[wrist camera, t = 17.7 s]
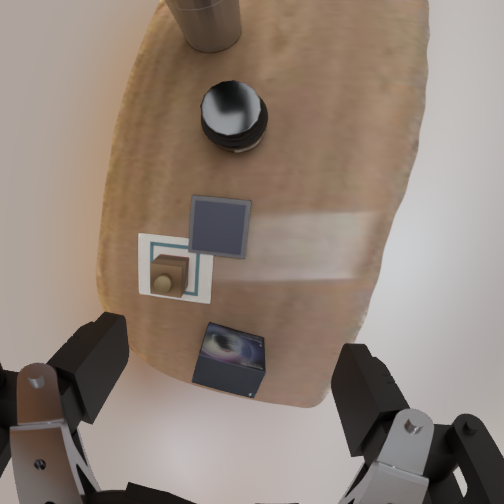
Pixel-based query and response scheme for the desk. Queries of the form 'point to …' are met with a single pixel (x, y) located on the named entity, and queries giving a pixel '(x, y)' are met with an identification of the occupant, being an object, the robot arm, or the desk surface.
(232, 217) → the ink pad
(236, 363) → the small box
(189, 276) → the sheet
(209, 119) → the ink bottle
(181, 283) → the stamp
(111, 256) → the desk surface
